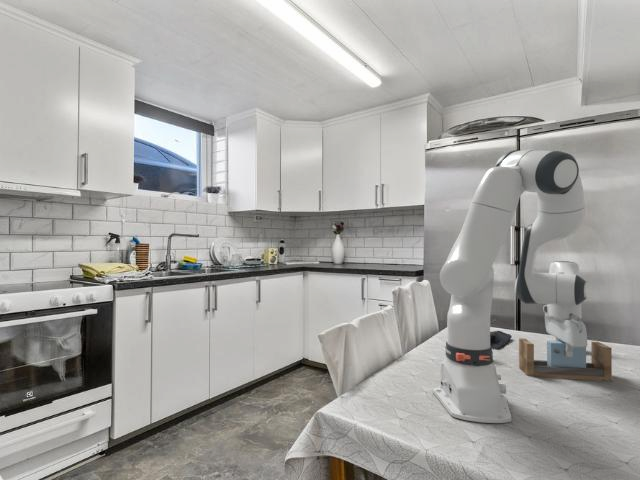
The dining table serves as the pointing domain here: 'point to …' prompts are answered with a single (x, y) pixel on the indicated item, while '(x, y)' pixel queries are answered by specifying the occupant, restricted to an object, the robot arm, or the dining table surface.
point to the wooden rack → (593, 371)
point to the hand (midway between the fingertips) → (565, 354)
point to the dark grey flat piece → (498, 339)
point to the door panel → (559, 359)
